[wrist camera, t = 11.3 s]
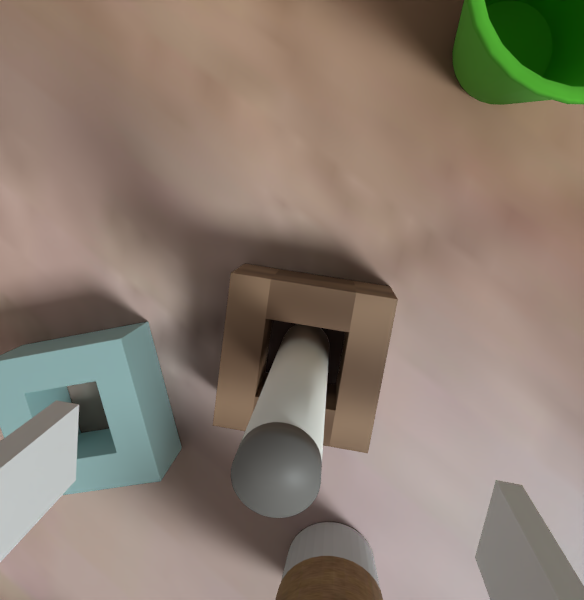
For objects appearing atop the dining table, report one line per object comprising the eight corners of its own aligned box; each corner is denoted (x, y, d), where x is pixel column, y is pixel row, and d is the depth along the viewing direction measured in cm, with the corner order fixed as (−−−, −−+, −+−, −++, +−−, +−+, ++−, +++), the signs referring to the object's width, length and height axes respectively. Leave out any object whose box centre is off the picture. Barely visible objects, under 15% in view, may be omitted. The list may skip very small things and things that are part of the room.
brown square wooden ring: (244, 263, 30) (230, 272, 26) (389, 286, 29) (397, 299, 26) (228, 397, 32) (212, 425, 28) (364, 421, 31) (368, 453, 27)
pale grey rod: (285, 319, 30) (235, 428, 16) (332, 326, 30) (327, 444, 16) (279, 364, 31) (226, 509, 16) (325, 371, 31) (313, 525, 16)
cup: (387, 103, 27) (419, 41, 17) (463, -66, 25) (553, -262, 15) (534, 167, 27) (660, 145, 17) (621, 2, 25) (828, -144, 15)
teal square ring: (22, 345, 33) (-21, 364, 29) (148, 321, 31) (120, 338, 27) (61, 466, 34) (25, 500, 30) (181, 447, 33) (160, 481, 29)
